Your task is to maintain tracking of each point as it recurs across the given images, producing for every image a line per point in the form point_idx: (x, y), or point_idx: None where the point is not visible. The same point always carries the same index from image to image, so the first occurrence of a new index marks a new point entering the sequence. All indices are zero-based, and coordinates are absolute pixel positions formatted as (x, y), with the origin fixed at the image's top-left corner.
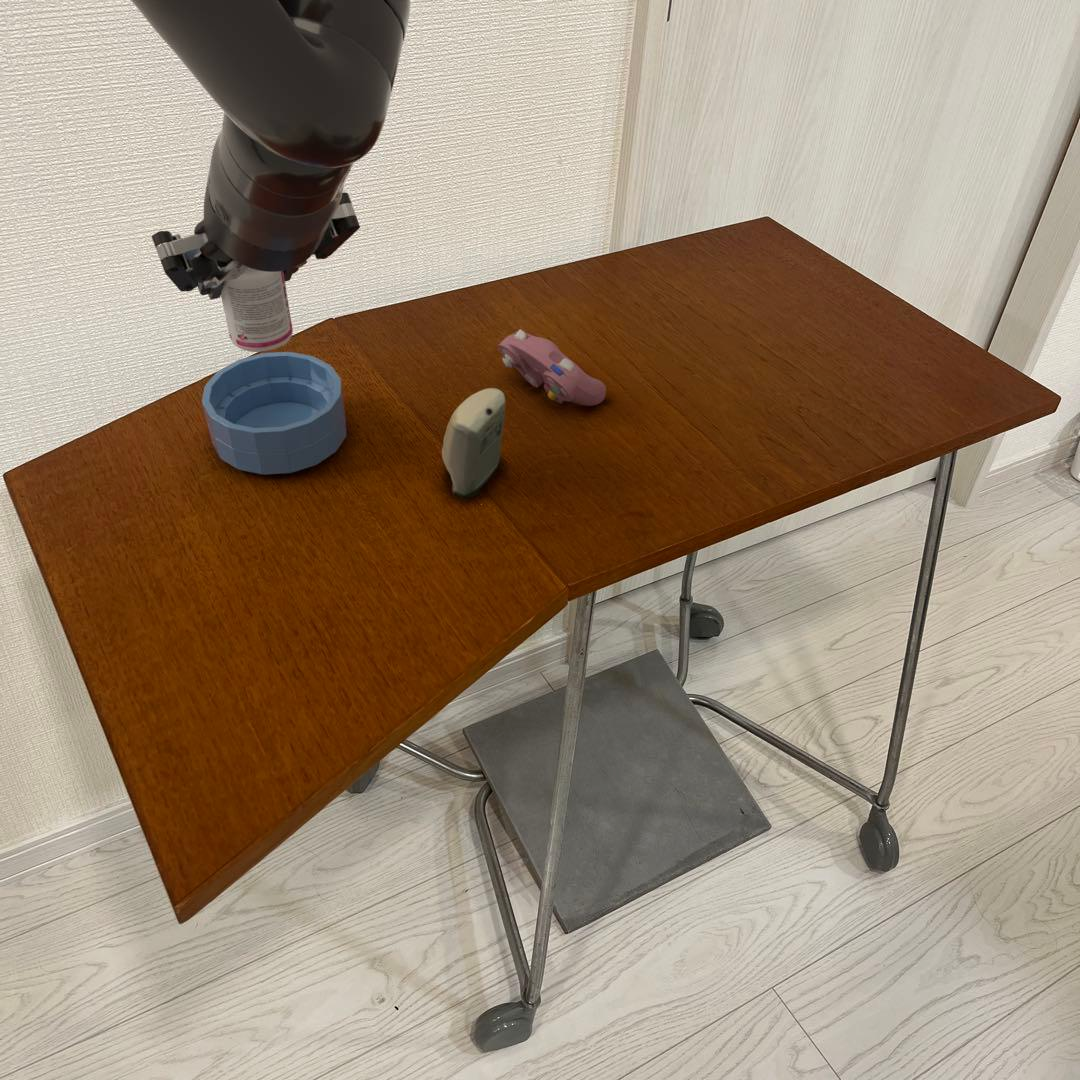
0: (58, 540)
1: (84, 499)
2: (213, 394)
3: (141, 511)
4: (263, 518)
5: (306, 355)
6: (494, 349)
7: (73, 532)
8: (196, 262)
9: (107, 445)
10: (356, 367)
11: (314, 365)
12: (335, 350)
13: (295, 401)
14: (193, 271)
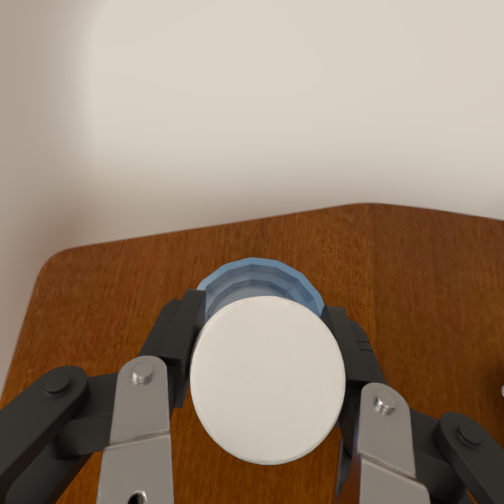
0: (29, 353)
1: (74, 312)
2: (207, 288)
3: (103, 358)
4: (184, 437)
5: (315, 290)
6: (492, 322)
7: (44, 350)
8: (102, 423)
9: (125, 253)
10: (359, 272)
11: (316, 307)
12: (352, 238)
13: (286, 297)
14: (84, 443)
